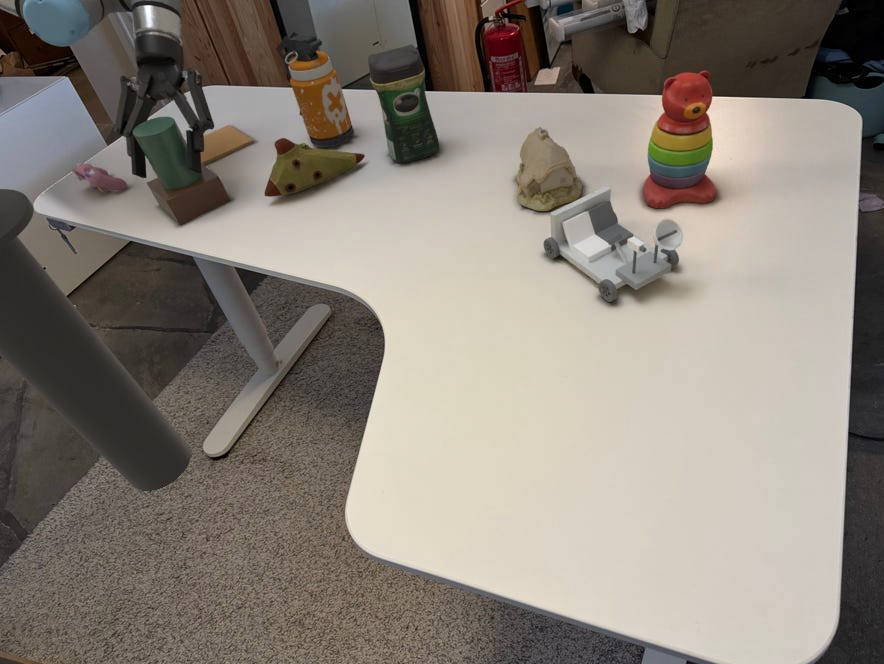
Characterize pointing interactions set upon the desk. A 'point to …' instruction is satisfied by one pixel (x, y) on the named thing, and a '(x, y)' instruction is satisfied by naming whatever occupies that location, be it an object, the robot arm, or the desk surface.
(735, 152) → the desk surface
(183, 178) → the green cylinder
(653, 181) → the stacking bear
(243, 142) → the cork mat
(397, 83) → the coffee jar
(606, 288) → the toy car
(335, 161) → the ocarina
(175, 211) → the riser
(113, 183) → the pink animal figurine
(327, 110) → the canister
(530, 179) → the ceramic model
